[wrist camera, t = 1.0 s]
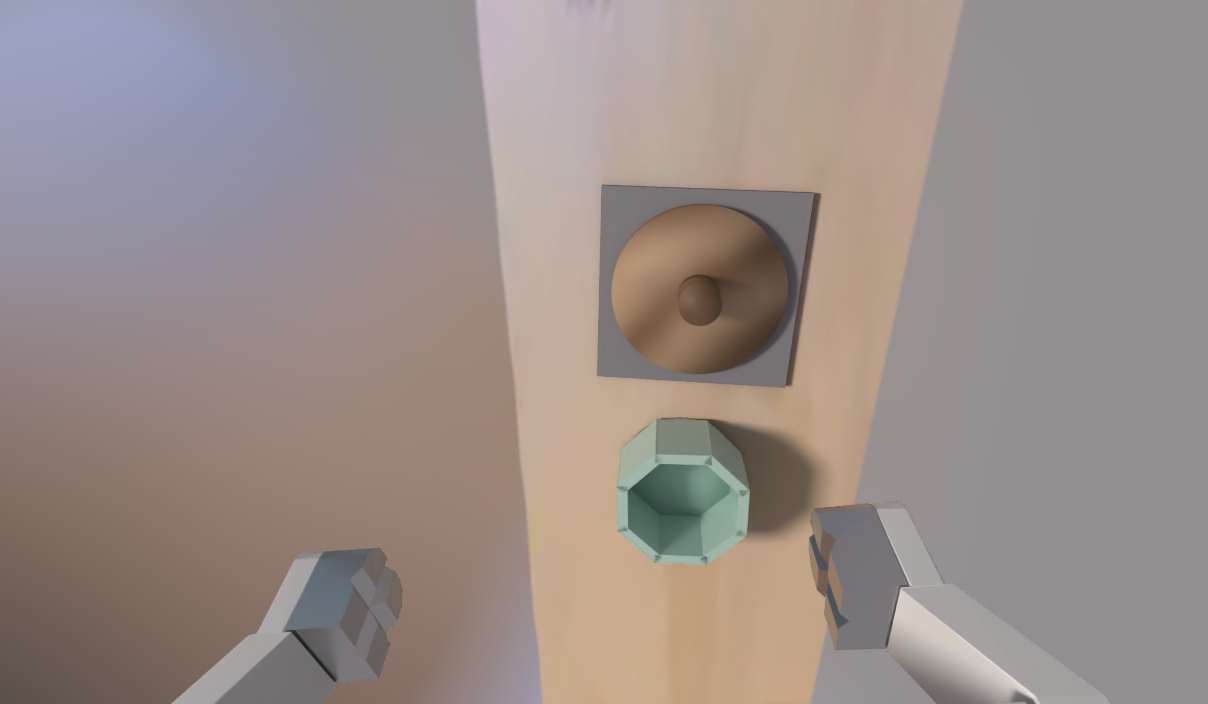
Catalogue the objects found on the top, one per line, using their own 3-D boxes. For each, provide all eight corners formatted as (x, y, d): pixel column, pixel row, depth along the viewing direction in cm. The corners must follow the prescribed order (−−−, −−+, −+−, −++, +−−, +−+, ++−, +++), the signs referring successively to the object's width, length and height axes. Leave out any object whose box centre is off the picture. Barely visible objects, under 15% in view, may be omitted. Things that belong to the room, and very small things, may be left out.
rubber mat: (784, 385, 48) (785, 387, 47) (597, 373, 49) (597, 375, 49) (812, 192, 42) (814, 193, 42) (602, 184, 44) (601, 185, 43)
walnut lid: (823, 291, 44) (836, 306, 41) (694, 400, 49) (696, 422, 45) (701, 164, 42) (704, 168, 38) (577, 291, 46) (570, 305, 43)
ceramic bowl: (764, 471, 51) (776, 514, 45) (678, 536, 54) (680, 584, 49) (682, 394, 49) (684, 430, 43) (598, 466, 52) (590, 508, 47)
